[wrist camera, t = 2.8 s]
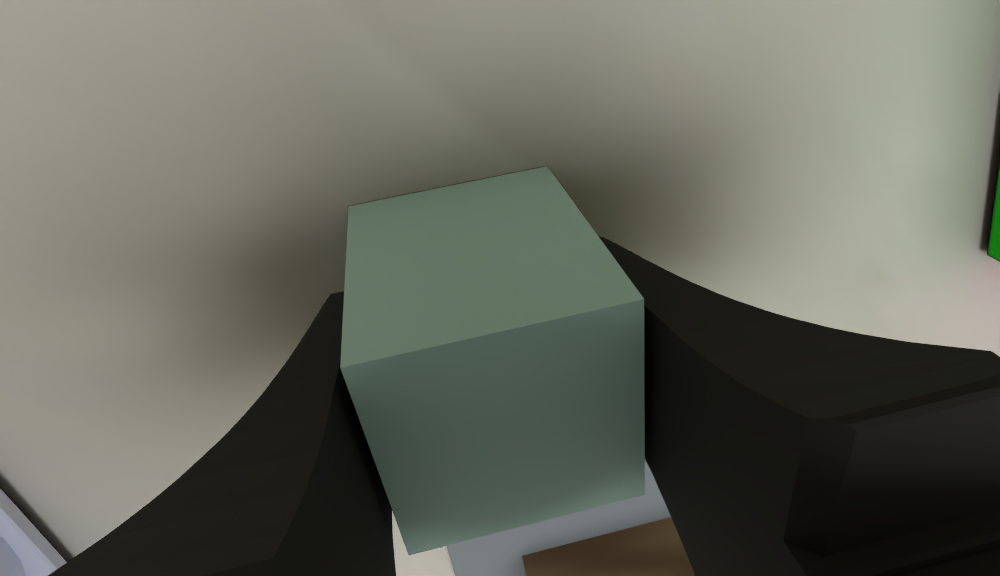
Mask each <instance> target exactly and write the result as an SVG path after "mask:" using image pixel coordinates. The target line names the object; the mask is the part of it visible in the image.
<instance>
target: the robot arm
mask: <svg viewBox="0 0 1000 576" xmlns="http://www.w3.org/2000/svg"><path fill="white" fill-rule="evenodd" d="M599 238H600V239H601V241H602V242H603V243H604V245H605V246H606V247H607V249H608V250H609V252H610V253H611V254H612V256H613V257H614V258H615V260H616V261H617V262H618V264H619V265H620V267H621V268H622V269H623V271H624V272H625V273H626V275H627V276H628V278H629V279H630V280H631V282H632V283H633V284H634V286H635V287H636V289H637V290H638V291H639V293H640V294H641V295H642V297H643V298H644V415H645V460H646V462H647V464H648V466H649V468H650V470H651V472H652V474H653V476H654V479H655V481H656V483H657V486H658V488H659V490H660V493H661V495H662V497H663V499H664V502H665V504H666V506H667V509H668V511H669V513H670V515H671V518H672V520H673V523H674V525H675V527H676V530H677V532H678V535H679V537H680V539H681V542H682V544H683V547H684V549H685V551H686V554H687V556H688V559H689V561H690V564H691V566H692V568H693V571H694V574H695V576H1000V357H999V356H998V355H996V354H995V353H993V352H991V351H984V350H975V349H966V348H957V347H948V346H939V345H930V344H921V343H912V342H905V341H899V340H893V339H887V338H881V337H875V336H869V335H863V334H858V333H853V332H848V331H843V330H838V329H833V328H829V327H825V326H821V325H817V324H813V323H809V322H805V321H801V320H797V319H793V318H789V317H785V316H782V315H779V314H775V313H772V312H768V311H765V310H762V309H760V308H757V307H754V306H751V305H748V304H745V303H742V302H739V301H736V300H733V299H730V298H728V297H725V296H723V295H720V294H718V293H715V292H713V291H711V290H708V289H706V288H704V287H701V286H699V285H697V284H694V283H692V282H690V281H688V280H685V279H683V278H681V277H679V276H677V275H675V274H673V273H671V272H669V271H667V270H665V269H663V268H661V267H659V266H657V265H655V264H653V263H651V262H649V261H647V260H645V259H643V258H642V257H640V256H638V255H636V254H634V253H632V252H630V251H628V250H627V249H625V248H623V247H621V246H619V245H617V244H615V243H613V242H612V241H610V240H607V239H605V238H603V237H601V236H599ZM343 305H344V291H343V292H338V293H333V294H330V296H329V297H328V299H327V300H326V302H325V303H324V305H323V306H322V308H321V310H320V311H319V313H318V314H317V316H316V318H315V319H314V321H313V322H312V324H311V326H310V327H309V329H308V330H307V332H306V334H305V335H304V337H303V338H302V340H301V341H300V343H299V344H298V346H297V347H296V349H295V350H294V352H293V353H292V355H291V356H290V358H289V359H288V361H287V362H286V363H285V365H284V366H283V367H282V369H281V370H280V371H279V373H278V374H277V375H276V377H275V378H274V379H273V381H272V382H271V383H270V385H269V386H268V387H267V389H266V390H265V391H264V393H263V394H262V395H261V396H260V397H259V399H258V400H257V401H256V402H255V403H254V404H253V406H252V407H251V408H250V409H249V410H248V411H247V412H246V414H245V415H244V416H243V417H242V418H241V419H240V420H239V421H238V422H237V423H236V424H235V425H234V426H233V427H232V428H231V430H230V431H229V432H228V433H227V434H226V435H225V436H224V437H223V438H222V439H221V440H220V441H219V442H218V443H217V444H216V445H215V446H213V447H212V448H211V449H210V450H209V451H208V452H207V453H206V454H205V455H204V456H203V457H201V458H200V459H199V460H198V461H197V462H196V463H195V464H194V465H193V466H192V467H191V468H190V469H188V470H187V471H186V472H185V473H184V474H183V475H182V476H181V477H180V478H179V479H178V480H176V481H175V482H174V483H173V484H172V485H170V486H169V487H168V488H167V489H166V490H164V491H163V492H162V493H161V494H159V495H158V496H157V497H156V498H155V499H153V500H152V501H151V502H150V503H148V504H147V505H146V506H145V507H143V508H142V509H141V510H139V511H138V512H137V513H136V514H134V515H133V516H132V517H130V518H129V519H128V520H126V521H125V522H124V523H123V524H121V525H120V526H119V527H117V528H116V529H114V530H113V531H112V532H110V533H109V534H108V535H106V536H105V537H103V538H102V539H101V540H99V541H98V542H96V543H95V544H93V545H92V546H90V547H89V548H87V549H86V550H85V551H83V552H82V553H80V554H79V555H77V556H76V557H74V558H73V559H71V560H70V561H68V562H66V561H65V560H64V559H63V558H62V556H61V555H60V554H59V553H58V552H57V551H56V550H55V549H54V548H53V546H52V545H51V544H50V543H49V542H48V541H47V540H46V539H45V538H44V536H43V535H42V534H41V533H40V532H39V531H38V530H37V529H36V528H35V526H34V525H33V524H32V523H31V522H30V521H29V520H28V519H27V518H26V516H25V515H24V514H23V513H22V512H21V511H20V510H19V509H18V508H17V507H16V505H15V504H14V503H13V502H12V501H11V500H10V499H9V498H8V497H7V495H6V494H5V493H4V492H3V491H2V490H1V489H0V576H396V571H395V560H394V548H393V535H392V508H391V505H390V502H389V500H388V497H387V494H386V491H385V489H384V486H383V483H382V480H381V478H380V475H379V472H378V470H377V467H376V464H375V461H374V459H373V456H372V453H371V450H370V448H369V445H368V442H367V439H366V437H365V434H364V431H363V428H362V426H361V423H360V420H359V418H358V415H357V412H356V409H355V407H354V404H353V401H352V398H351V396H350V393H349V390H348V387H347V385H346V382H345V379H344V377H343V374H342V371H341V368H340V363H341V344H342V324H343Z"/></svg>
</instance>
